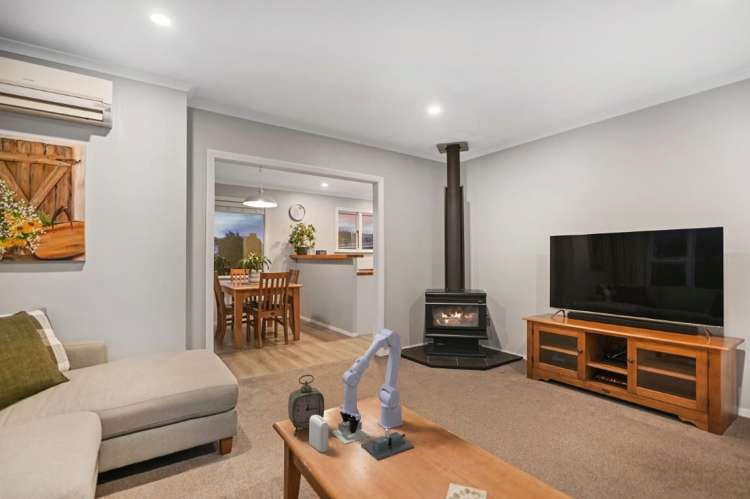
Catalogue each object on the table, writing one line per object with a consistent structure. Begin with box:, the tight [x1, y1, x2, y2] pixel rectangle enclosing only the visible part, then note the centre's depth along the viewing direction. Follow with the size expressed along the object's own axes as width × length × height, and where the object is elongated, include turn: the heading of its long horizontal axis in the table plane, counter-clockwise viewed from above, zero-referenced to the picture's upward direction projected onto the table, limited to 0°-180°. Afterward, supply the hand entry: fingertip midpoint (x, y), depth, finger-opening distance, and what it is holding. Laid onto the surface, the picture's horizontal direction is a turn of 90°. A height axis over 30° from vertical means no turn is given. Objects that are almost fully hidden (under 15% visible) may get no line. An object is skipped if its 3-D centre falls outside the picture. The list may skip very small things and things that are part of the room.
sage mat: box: [331, 429, 370, 445], centre depth 165 cm, size 12×12×1 cm
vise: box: [360, 428, 415, 461], centre depth 155 cm, size 18×12×8 cm, turn 124°
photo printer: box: [308, 415, 329, 453], centre depth 155 cm, size 10×4×12 cm, turn 39°
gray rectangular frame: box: [337, 420, 363, 434], centre depth 165 cm, size 9×5×3 cm, turn 123°
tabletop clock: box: [287, 374, 325, 436], centre depth 168 cm, size 14×9×25 cm, turn 117°
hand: (350, 430), depth 165 cm, fingers closed on gray rectangular frame, 5 cm apart
